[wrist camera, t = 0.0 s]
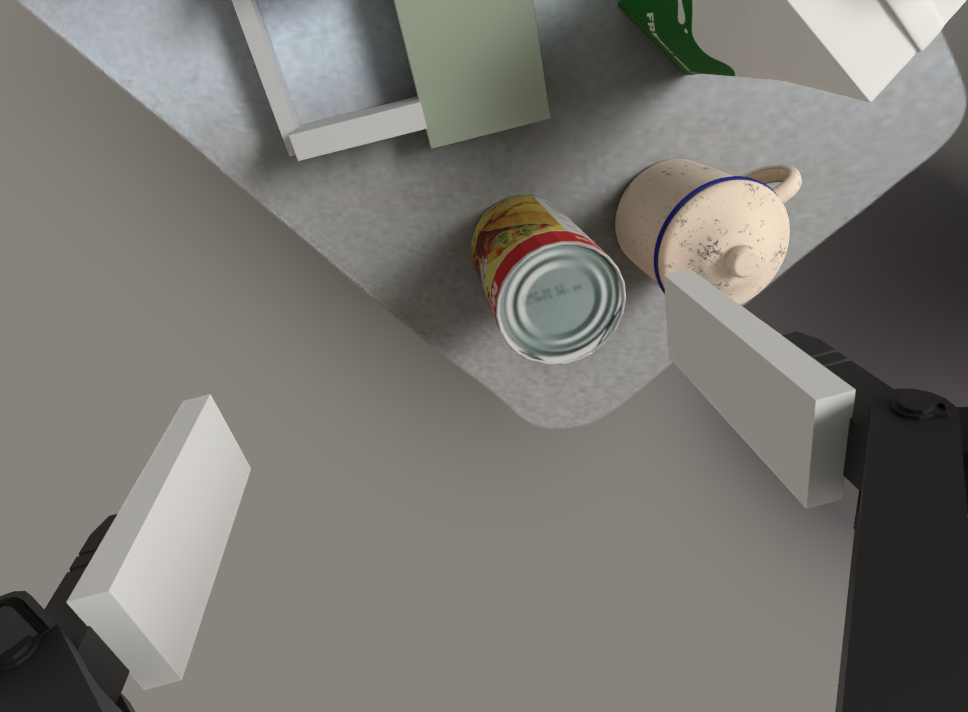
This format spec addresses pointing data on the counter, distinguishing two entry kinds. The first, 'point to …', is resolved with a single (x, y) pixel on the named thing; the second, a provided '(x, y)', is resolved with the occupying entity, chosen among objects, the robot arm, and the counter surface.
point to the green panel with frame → (427, 77)
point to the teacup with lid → (708, 224)
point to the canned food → (546, 281)
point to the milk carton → (795, 38)
